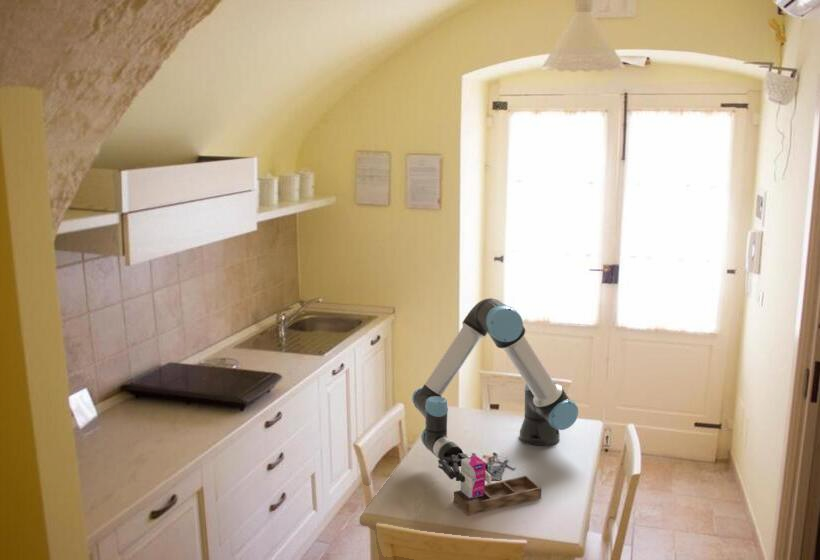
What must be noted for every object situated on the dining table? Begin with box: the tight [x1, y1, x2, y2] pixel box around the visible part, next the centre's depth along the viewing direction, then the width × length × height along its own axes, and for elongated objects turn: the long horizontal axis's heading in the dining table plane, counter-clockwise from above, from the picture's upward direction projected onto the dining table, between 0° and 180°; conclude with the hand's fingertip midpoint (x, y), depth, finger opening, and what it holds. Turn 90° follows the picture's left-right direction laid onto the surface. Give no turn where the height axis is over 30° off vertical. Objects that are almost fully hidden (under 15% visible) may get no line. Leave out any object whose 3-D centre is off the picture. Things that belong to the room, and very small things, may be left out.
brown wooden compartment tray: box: [453, 475, 542, 516], centre depth 249 cm, size 27×10×4 cm, turn 113°
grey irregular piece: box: [488, 452, 509, 481], centre depth 272 cm, size 21×7×2 cm, turn 163°
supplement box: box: [460, 455, 487, 499], centre depth 244 cm, size 6×6×12 cm
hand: (480, 481), depth 239 cm, fingers closed on supplement box, 6 cm apart
